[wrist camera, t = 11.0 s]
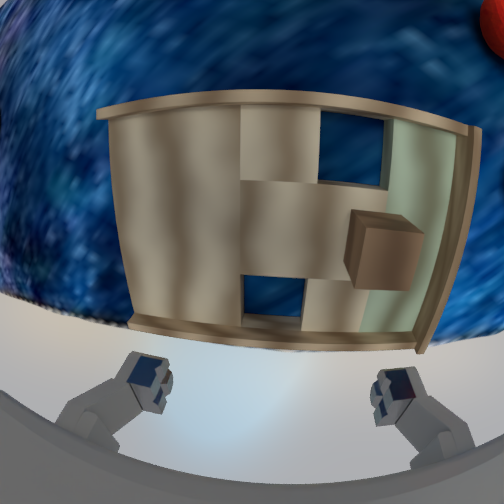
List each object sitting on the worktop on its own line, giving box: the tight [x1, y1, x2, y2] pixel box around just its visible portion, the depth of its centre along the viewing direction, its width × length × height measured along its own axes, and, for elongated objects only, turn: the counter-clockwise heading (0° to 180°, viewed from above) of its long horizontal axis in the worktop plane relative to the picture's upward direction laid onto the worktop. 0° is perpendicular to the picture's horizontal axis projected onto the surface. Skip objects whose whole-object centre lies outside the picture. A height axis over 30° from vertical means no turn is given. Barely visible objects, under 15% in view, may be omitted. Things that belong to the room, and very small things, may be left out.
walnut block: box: [343, 209, 425, 291], centre depth 21 cm, size 5×5×5 cm
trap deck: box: [97, 90, 482, 354], centre depth 24 cm, size 34×24×6 cm
